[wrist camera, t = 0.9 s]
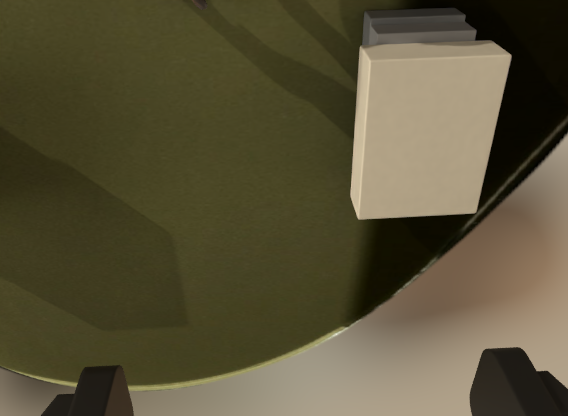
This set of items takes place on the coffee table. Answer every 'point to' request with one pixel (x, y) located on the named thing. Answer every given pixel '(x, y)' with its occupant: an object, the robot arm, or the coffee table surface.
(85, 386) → the robot arm
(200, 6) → the lion figurine
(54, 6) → the coffee table surface
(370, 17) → the grey block
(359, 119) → the cream flat block
